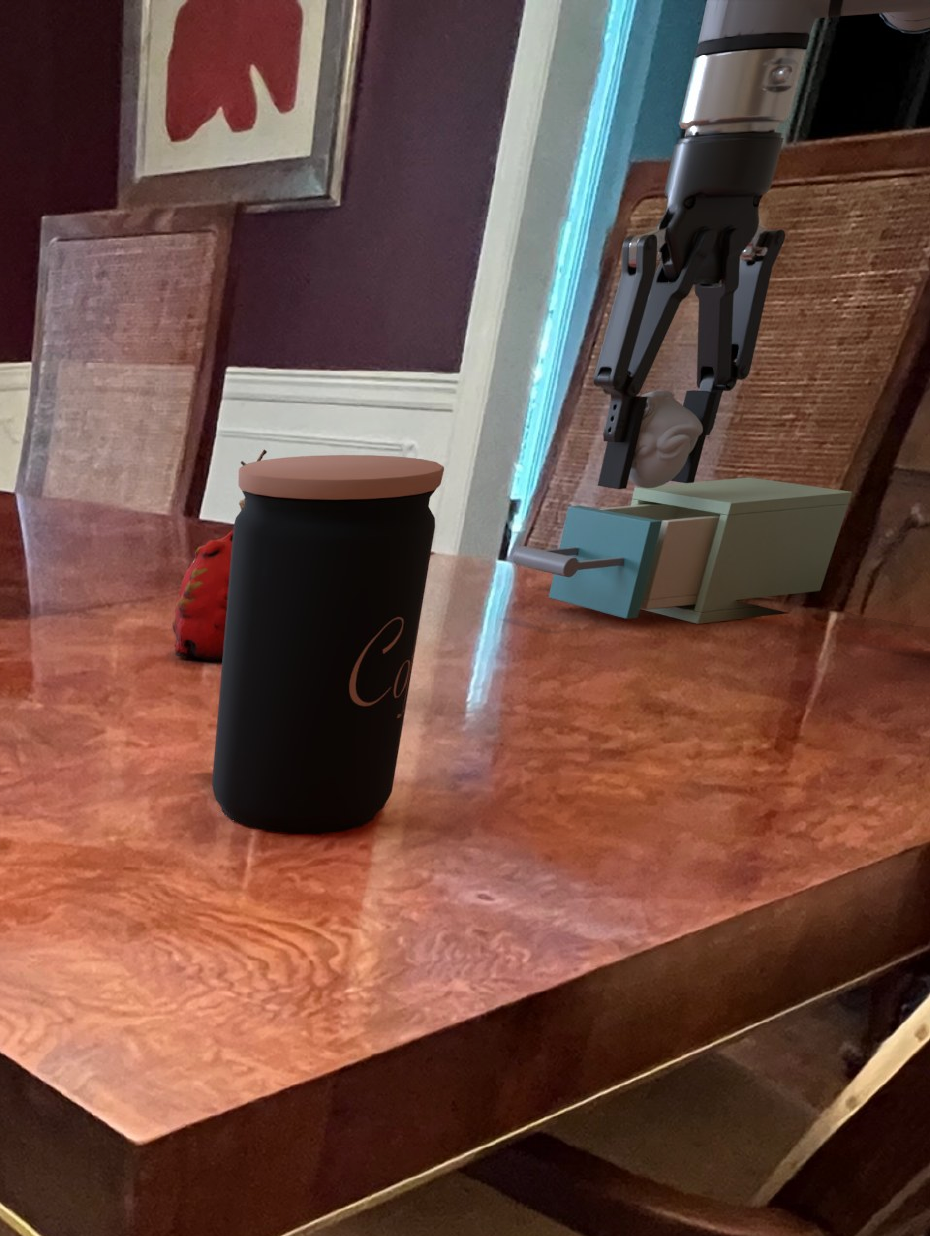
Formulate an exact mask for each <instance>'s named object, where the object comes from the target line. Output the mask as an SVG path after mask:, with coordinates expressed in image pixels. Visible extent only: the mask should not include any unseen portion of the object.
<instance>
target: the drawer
mask: <svg viewBox="0 0 930 1236" xmlns="http://www.w3.org/2000/svg"><path fill="white" fill-rule="evenodd" d="M720 515H721V514H718V513H712V512H707V511H701V510H695V509H689V508H683V507H678V506H672V505H666V504H660V503H653V504H642V505H631V504H630V505H621V506H611V507H609V506H608V507H601V508H600V507H599V508H595V507H589V506H584V505H569V506H568V507H567V509H566V515H565V520H564V525H563V529H562V533H561V538H560V543H559V547H557V548H548V549H547V548H546V549H539V548H534V547H531V546H527V545H520V546H518V547H517V548H516V549H515V551H514V552H513V555H512V561H513V564H515V565H517V566H520V567H525V568H529V569H532V570H536V571H541V572H544V573H549V574H553V575H552V581H551V585H550V590H549V594H548V598H549V599H553V600H555V601H560V602H564V603H567V604H571V605H574V606H578V607H581V608H585V609H589V610H593V611H596V612H599V613H604V614H608V615H611V616H613V617H618V618H622V619H625V620H629V619H637V618H638V617H639V614H640V610H642V609H645V610H644V611H646V610H650V609H658V608H667V607H676V606H685V605H694V604H696V602H697V598H698V595H699V591H700V587H701V584H702V580H703V576H704V573H705V569H706V565H707V562H708V558H709V555H710V551H711V547H712V544H713V540H714V536H715V533H716V529H717V525H718V522H719V518H720ZM640 608H641V609H640Z"/></svg>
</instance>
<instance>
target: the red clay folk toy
mask: <svg viewBox="0 0 930 1236" xmlns="http://www.w3.org/2000/svg"><path fill="white" fill-rule="evenodd" d="M267 453H268V451H267V449H263V450H262V452H261V453H260V455H259V456H258V458H257V459H256V461H255V462H257V461H262V460H263V457H264V456H265V455H266V454H267ZM240 464H241V465H242V466H244V465H246V464H247V463H246V462H245V461H243V460H241V461H240ZM238 505H239V507H240V511H241V510H242V509H243V508H244V507H245V497H244V498H243V499H240V500H239V501H238ZM232 540H233V530H230V532H228V534H227V535H225V536H224V537H221V538H219V539H210V540H208V541H207V542H206V543H205V544H204V545H201V546H199V547H197V549H196V550H195V552H194V560H193V561H192V562H191V563H190V566H189V567H188V569H187V570H186V572H185V573H184V576H183V579H182V581H181V582H182V583H181V585H180V589H179V594H178V600H177V602H176V603H175V605H174V606H175V608H174V618H173V620H172V630H173V633H174V634H175V642H174V654H175V656H177V657H179V658H185V659H186V658H188V659H191V658H193V657H194V658H197V659H202V660H204V661H214V662H217V661H222V659H223V647H224V635H225V623H226V611H227V599H228V587H229V575H230V564H231V552H232Z"/></svg>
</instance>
